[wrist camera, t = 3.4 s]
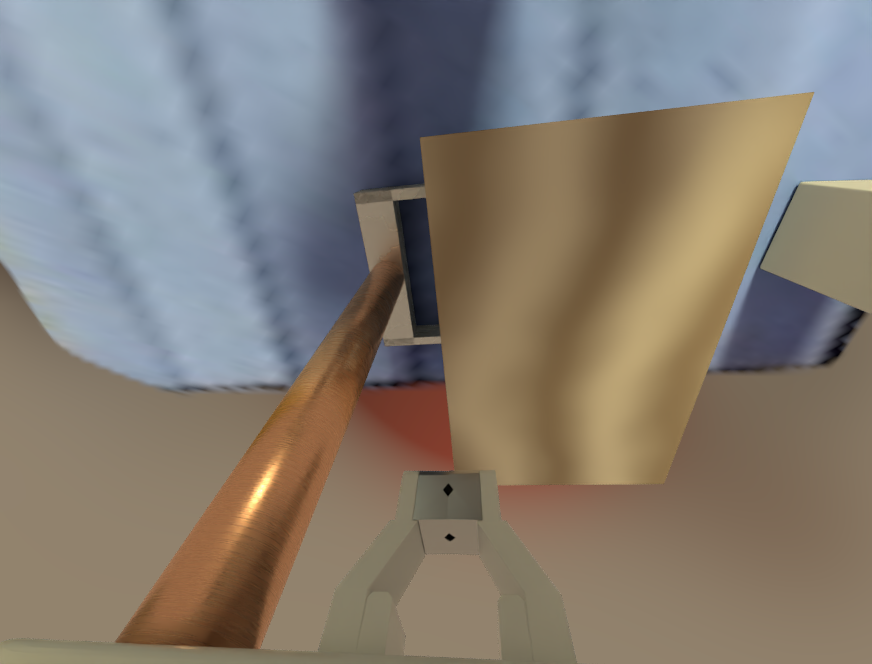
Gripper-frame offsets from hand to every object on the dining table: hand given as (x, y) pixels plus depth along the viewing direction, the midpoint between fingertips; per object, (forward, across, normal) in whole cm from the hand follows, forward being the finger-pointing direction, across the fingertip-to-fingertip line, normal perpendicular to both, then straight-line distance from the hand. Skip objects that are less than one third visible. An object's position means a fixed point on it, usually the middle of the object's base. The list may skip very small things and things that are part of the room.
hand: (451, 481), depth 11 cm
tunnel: (+23, -6, 0) cm, 24 cm away
